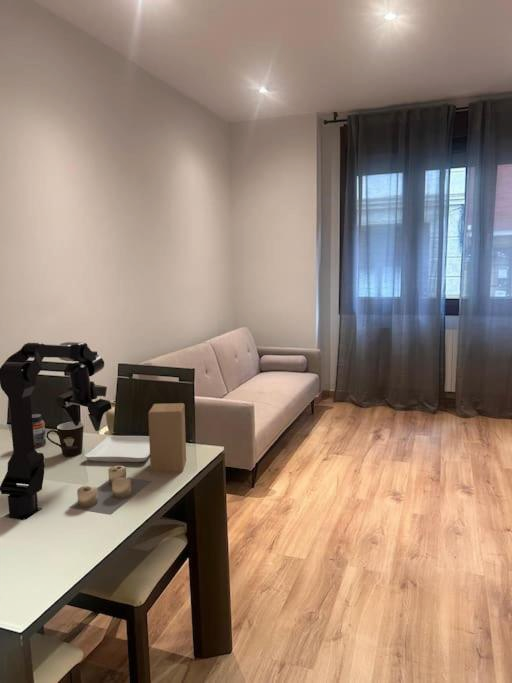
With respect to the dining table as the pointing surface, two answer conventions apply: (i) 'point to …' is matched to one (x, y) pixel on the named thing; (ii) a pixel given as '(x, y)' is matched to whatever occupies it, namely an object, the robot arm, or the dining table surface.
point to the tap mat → (106, 497)
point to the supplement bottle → (38, 431)
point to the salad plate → (121, 449)
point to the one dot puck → (87, 496)
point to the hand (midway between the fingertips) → (87, 428)
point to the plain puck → (121, 488)
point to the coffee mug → (69, 438)
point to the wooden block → (167, 438)
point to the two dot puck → (116, 473)
